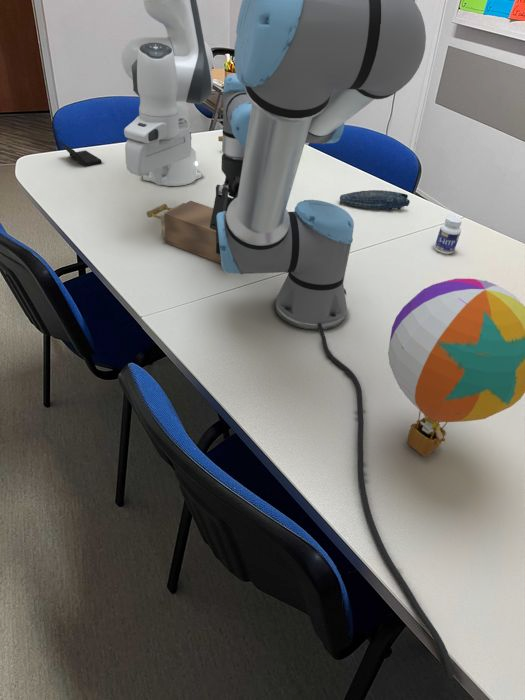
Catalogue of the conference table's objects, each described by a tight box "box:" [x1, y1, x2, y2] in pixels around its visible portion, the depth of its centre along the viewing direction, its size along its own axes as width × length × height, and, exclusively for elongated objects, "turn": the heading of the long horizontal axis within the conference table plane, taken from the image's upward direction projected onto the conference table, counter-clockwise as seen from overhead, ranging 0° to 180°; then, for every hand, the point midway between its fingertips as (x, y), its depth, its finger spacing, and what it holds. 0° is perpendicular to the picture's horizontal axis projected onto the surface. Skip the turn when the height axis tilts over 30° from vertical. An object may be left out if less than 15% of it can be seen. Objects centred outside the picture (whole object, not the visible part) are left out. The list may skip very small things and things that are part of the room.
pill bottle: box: [434, 215, 463, 255], centre depth 137 cm, size 5×5×9 cm
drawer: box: [146, 202, 186, 239], centre depth 131 cm, size 26×9×6 cm, turn 58°
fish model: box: [339, 189, 411, 211], centre depth 158 cm, size 7×21×5 cm, turn 84°
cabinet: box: [163, 200, 222, 265], centre depth 129 cm, size 21×10×8 cm, turn 58°
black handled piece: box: [57, 140, 103, 167], centre depth 170 cm, size 12×7×10 cm
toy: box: [387, 278, 525, 458], centre depth 75 cm, size 20×20×30 cm
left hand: (162, 183), depth 129 cm, fingers closed
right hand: (234, 245), depth 127 cm, fingers closed on cabinet, 10 cm apart
